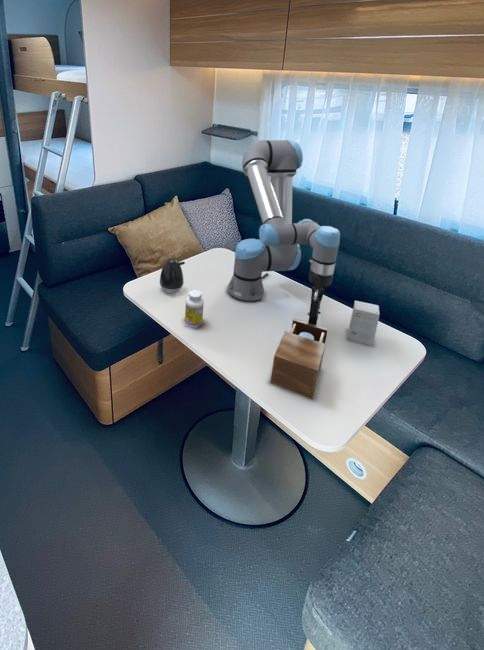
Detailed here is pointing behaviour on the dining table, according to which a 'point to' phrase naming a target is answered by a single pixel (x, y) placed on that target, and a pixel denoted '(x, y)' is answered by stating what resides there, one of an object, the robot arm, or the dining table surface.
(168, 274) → the pump dispenser
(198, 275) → the dining table surface
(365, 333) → the small box
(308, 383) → the wooden block
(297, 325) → the drawer
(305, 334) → the light blue cylinder
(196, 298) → the supplement bottle
